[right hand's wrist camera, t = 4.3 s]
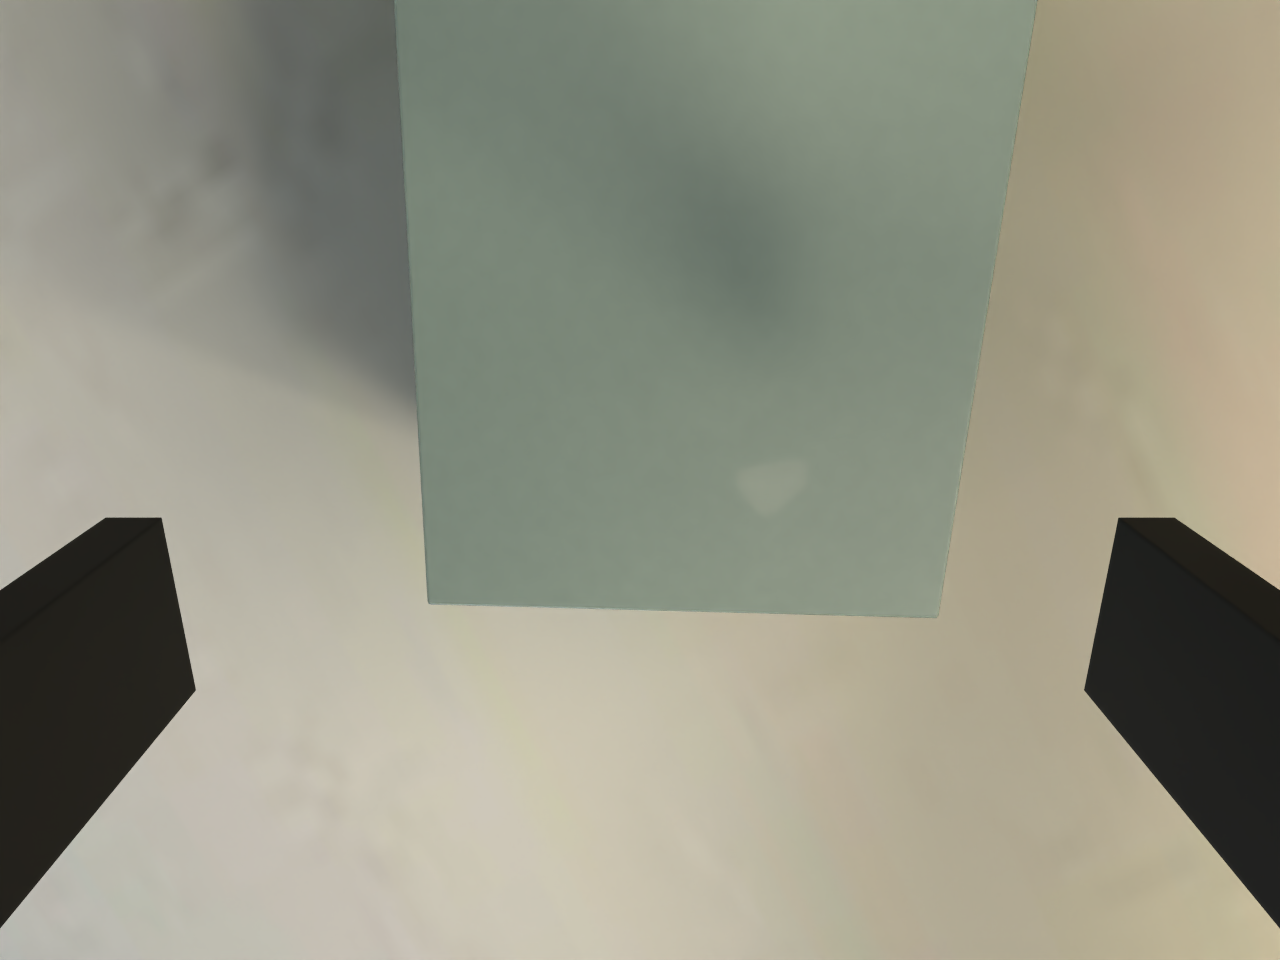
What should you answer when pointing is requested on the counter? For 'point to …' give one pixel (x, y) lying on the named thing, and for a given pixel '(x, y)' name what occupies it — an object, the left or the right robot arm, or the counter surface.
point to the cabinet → (701, 293)
